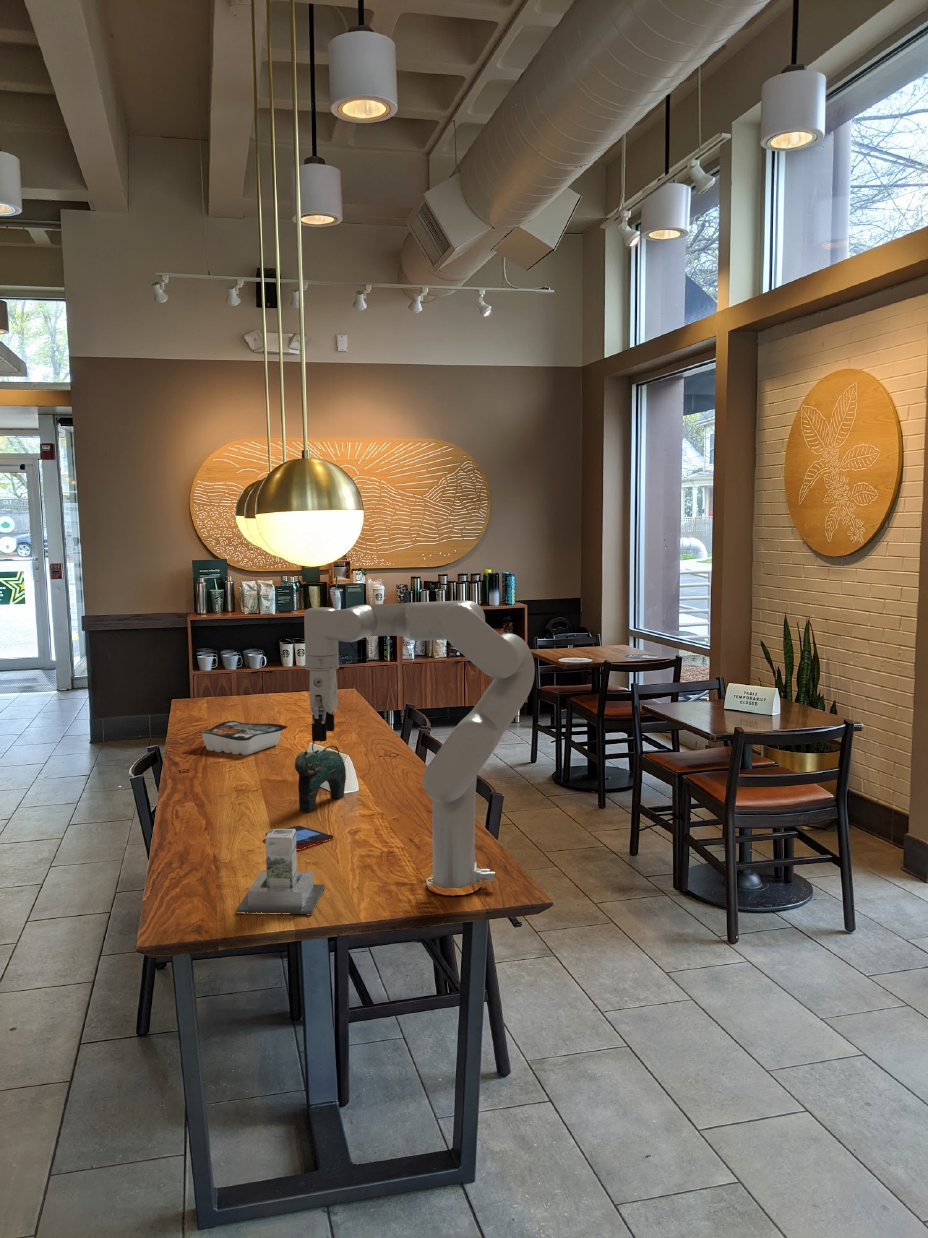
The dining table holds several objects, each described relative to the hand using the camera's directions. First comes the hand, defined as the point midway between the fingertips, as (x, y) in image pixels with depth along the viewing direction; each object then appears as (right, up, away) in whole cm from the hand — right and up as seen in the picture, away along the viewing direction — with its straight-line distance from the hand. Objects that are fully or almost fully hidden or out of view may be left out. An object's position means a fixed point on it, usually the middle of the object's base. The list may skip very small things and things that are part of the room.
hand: (323, 736), depth 212 cm
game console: (-11, -31, +29) cm, 44 cm away
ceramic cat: (-10, -28, +59) cm, 66 cm away
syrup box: (-7, -34, -11) cm, 36 cm away
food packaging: (-49, -21, +127) cm, 138 cm away
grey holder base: (-8, -35, -11) cm, 37 cm away
